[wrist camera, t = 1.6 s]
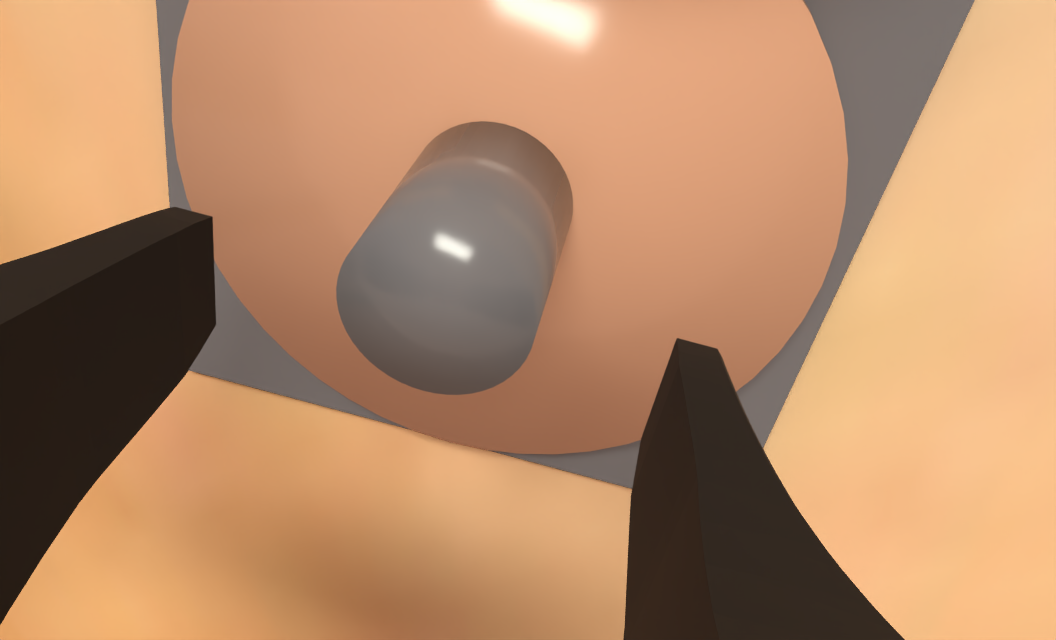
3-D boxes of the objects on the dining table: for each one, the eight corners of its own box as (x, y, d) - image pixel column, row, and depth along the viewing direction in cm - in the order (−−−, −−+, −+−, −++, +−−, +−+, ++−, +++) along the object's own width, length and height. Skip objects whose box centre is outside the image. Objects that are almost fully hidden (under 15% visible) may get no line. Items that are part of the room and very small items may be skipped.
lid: (441, 500, 23) (385, 653, 19) (61, 77, 18) (-116, 169, 14) (956, 303, 17) (1023, 467, 13) (603, -406, 12) (548, -467, 8)
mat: (730, 503, 21) (731, 515, 21) (188, 358, 22) (180, 368, 22) (1021, -119, 13) (1029, -116, 13) (147, -319, 14) (134, -321, 14)
